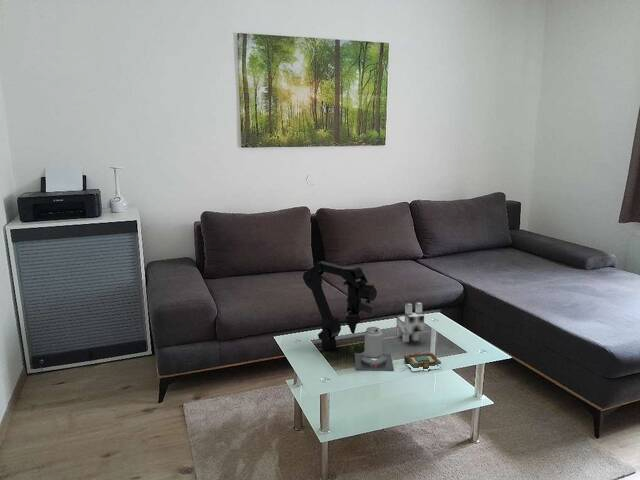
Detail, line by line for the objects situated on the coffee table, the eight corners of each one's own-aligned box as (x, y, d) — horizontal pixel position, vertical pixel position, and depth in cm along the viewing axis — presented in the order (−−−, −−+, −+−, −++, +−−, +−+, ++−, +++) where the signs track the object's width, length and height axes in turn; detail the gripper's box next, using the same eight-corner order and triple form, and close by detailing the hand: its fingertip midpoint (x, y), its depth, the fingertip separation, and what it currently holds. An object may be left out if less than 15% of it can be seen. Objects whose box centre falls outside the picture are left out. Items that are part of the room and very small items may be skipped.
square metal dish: (355, 370, 205) (355, 362, 204) (354, 355, 219) (354, 347, 219) (393, 370, 204) (394, 363, 203) (390, 355, 219) (390, 348, 218)
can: (381, 359, 207) (381, 332, 204) (363, 358, 208) (363, 331, 206) (382, 352, 214) (382, 326, 212) (365, 350, 215) (365, 325, 213)
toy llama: (408, 332, 245) (409, 294, 241) (423, 346, 229) (424, 305, 225) (394, 333, 244) (395, 295, 240) (408, 347, 227) (409, 306, 223)
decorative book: (392, 362, 212) (393, 352, 211) (431, 359, 215) (431, 349, 214) (402, 377, 199) (403, 365, 198) (443, 373, 202) (444, 362, 201)
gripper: (372, 303, 202) (372, 338, 206) (371, 289, 221) (371, 322, 224) (346, 302, 203) (345, 337, 206) (347, 289, 222) (346, 321, 225)
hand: (353, 329), depth 215 cm, fingers open, 9 cm apart
